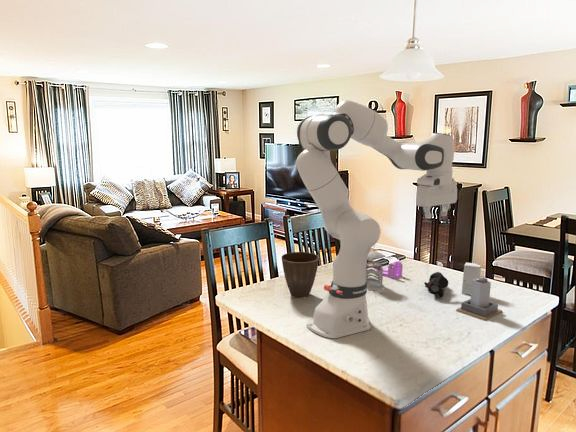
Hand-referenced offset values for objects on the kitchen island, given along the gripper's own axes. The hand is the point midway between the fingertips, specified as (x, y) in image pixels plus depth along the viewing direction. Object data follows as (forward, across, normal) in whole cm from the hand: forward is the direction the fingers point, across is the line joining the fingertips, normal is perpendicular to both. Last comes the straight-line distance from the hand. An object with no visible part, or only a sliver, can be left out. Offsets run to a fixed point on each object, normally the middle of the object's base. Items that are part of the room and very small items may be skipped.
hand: (436, 217), depth 161 cm
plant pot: (+35, +32, -38) cm, 61 cm away
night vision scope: (+34, -14, -7) cm, 38 cm away
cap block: (+33, -9, +15) cm, 37 cm away
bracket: (+34, -16, -35) cm, 51 cm away
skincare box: (+34, -24, +2) cm, 41 cm away
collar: (+34, -9, +15) cm, 38 cm away
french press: (+34, +2, -28) cm, 44 cm away
